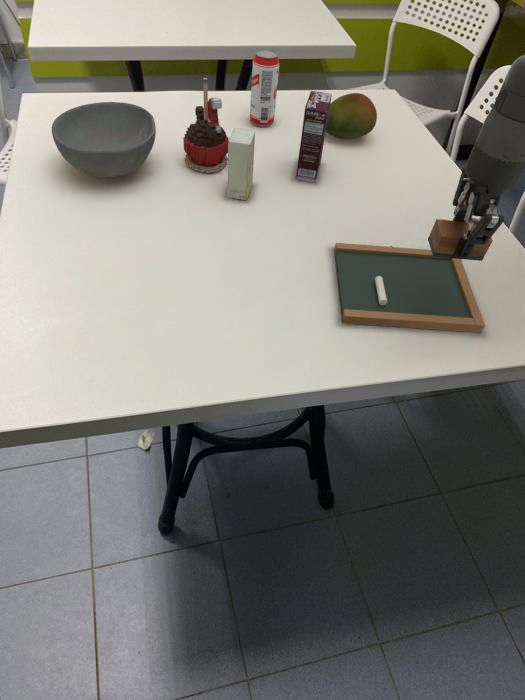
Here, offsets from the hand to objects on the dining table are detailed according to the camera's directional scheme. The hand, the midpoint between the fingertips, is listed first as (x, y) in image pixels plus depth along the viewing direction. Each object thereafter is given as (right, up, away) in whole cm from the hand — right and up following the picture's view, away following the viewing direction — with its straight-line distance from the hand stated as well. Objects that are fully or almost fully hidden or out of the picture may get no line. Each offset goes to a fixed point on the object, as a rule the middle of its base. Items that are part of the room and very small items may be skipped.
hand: (456, 246), depth 79 cm
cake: (-44, +25, +32) cm, 60 cm away
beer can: (-31, +41, +46) cm, 70 cm away
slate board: (-7, -6, +9) cm, 13 cm away
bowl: (-64, +23, +28) cm, 73 cm away
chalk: (-11, -7, +6) cm, 14 cm away
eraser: (0, 0, +1) cm, 1 cm away
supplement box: (-21, +24, +33) cm, 45 cm away
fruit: (-11, +37, +45) cm, 59 cm away
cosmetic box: (-36, +17, +26) cm, 47 cm away
